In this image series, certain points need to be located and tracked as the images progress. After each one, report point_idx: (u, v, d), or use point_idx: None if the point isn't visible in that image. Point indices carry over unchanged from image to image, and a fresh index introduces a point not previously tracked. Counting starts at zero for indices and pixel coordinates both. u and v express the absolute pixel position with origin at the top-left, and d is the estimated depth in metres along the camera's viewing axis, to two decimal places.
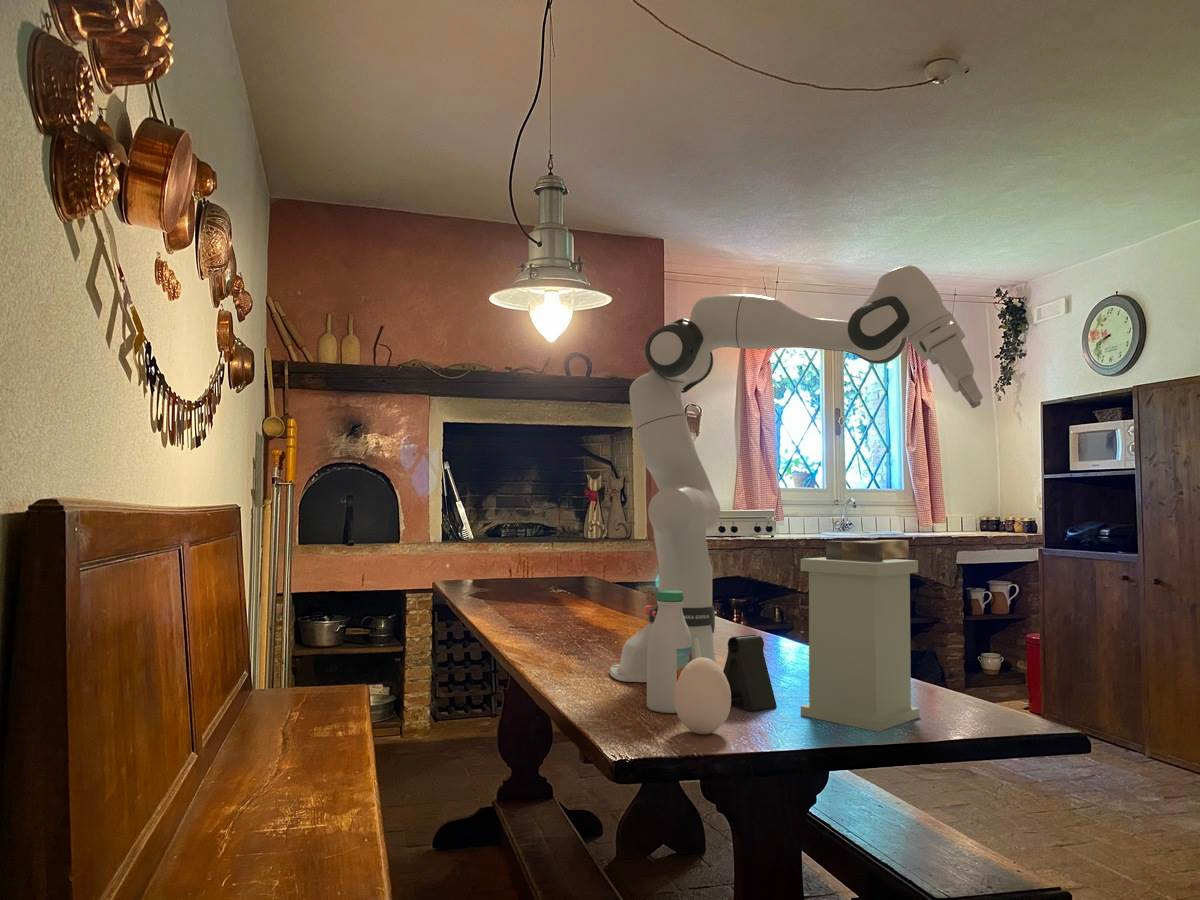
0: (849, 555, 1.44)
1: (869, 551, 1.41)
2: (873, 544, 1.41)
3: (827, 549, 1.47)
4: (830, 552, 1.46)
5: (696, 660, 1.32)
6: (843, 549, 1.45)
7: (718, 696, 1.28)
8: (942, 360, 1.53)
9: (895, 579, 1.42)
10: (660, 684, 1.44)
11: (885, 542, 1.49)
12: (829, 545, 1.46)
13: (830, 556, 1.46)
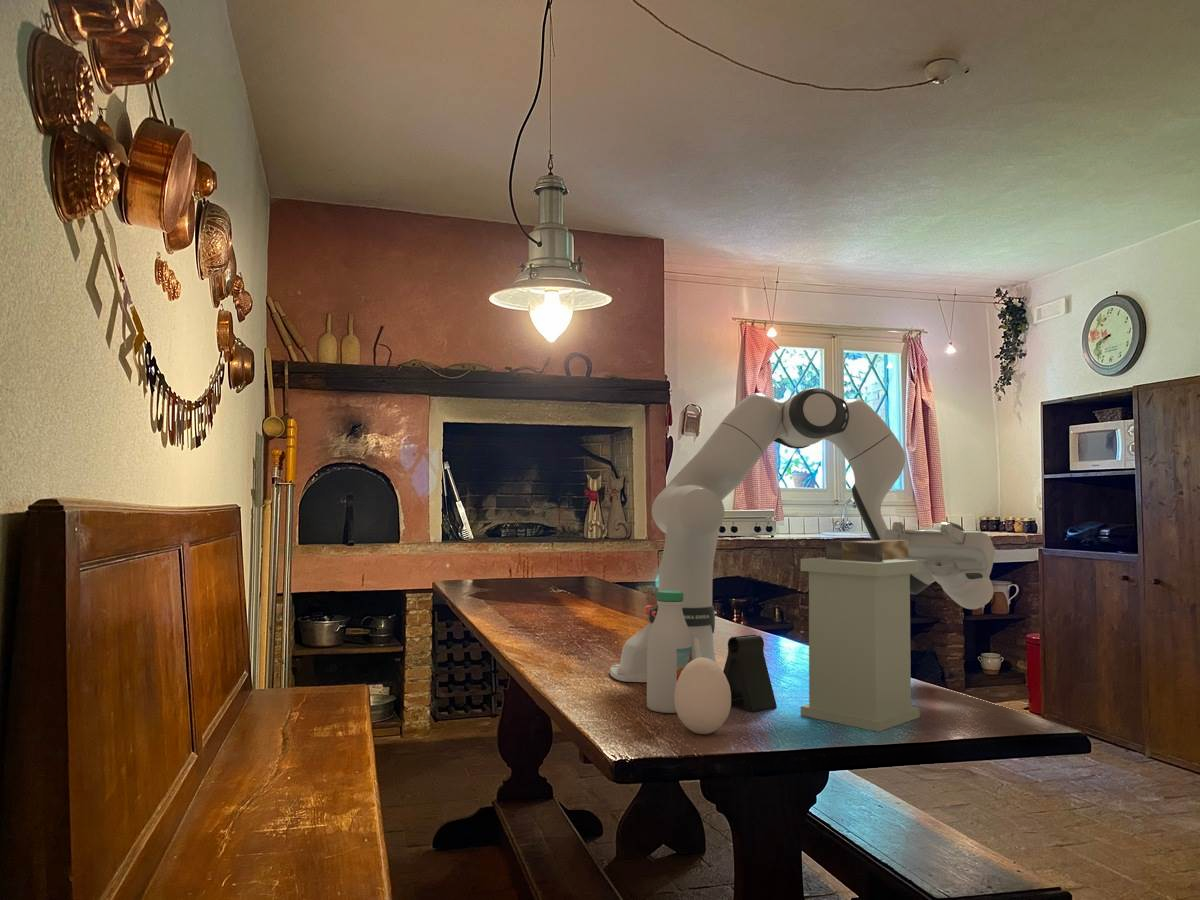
0: (849, 555, 1.44)
1: (869, 551, 1.41)
2: (873, 544, 1.41)
3: (827, 549, 1.47)
4: (830, 552, 1.46)
5: (696, 660, 1.32)
6: (843, 549, 1.45)
7: (718, 696, 1.28)
8: None
9: (895, 579, 1.42)
10: (660, 684, 1.44)
11: (885, 542, 1.49)
12: (829, 545, 1.46)
13: (830, 556, 1.46)
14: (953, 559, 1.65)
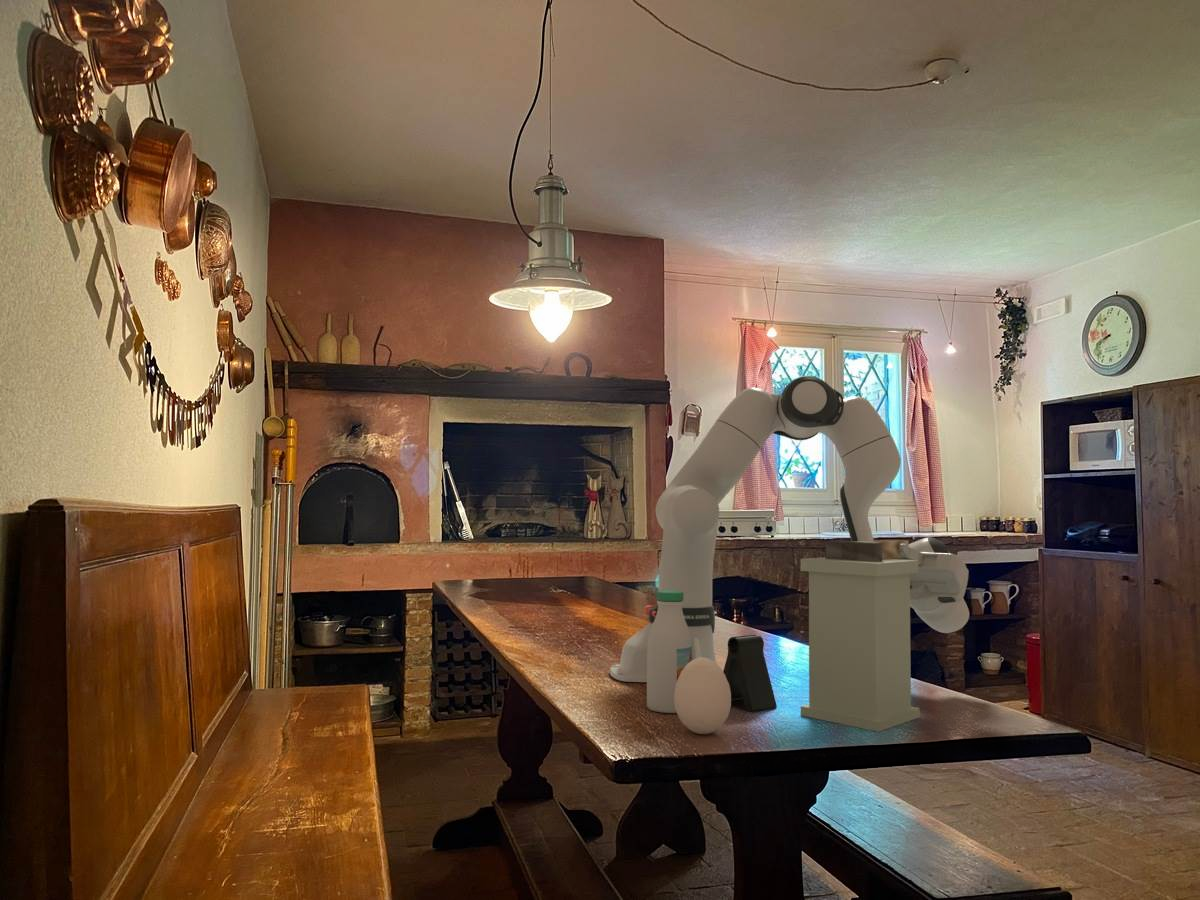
0: (849, 555, 1.44)
1: (869, 551, 1.41)
2: (873, 544, 1.41)
3: (827, 549, 1.47)
4: (830, 552, 1.46)
5: (696, 660, 1.32)
6: (843, 549, 1.45)
7: (718, 696, 1.28)
8: (964, 563, 1.52)
9: (895, 579, 1.42)
10: (660, 684, 1.44)
11: (885, 542, 1.49)
12: (829, 544, 1.46)
13: (830, 556, 1.46)
14: (924, 582, 1.56)
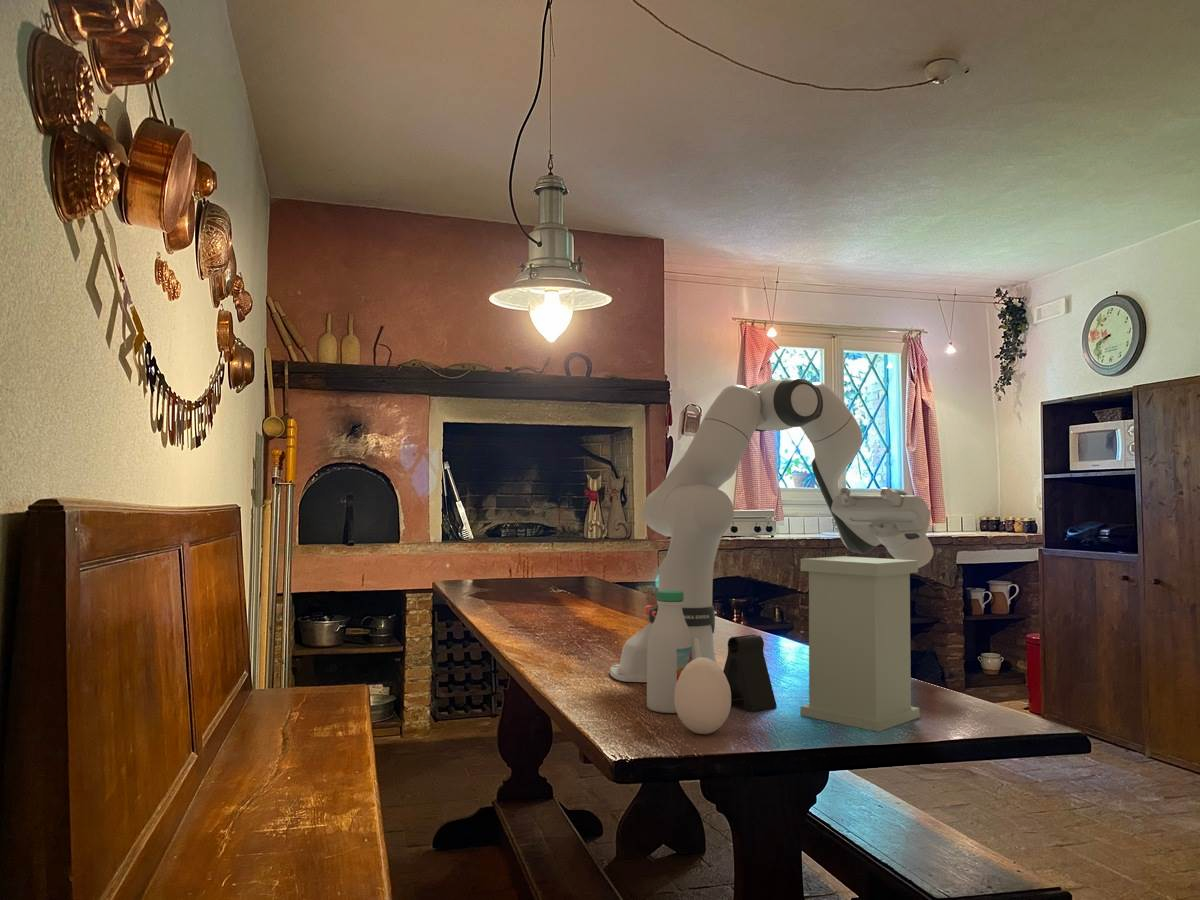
0: None
1: None
2: None
3: None
4: None
5: (696, 660, 1.32)
6: None
7: (718, 696, 1.28)
8: (926, 504, 1.80)
9: (895, 579, 1.42)
10: (660, 684, 1.44)
11: None
12: None
13: None
14: (893, 521, 1.85)
